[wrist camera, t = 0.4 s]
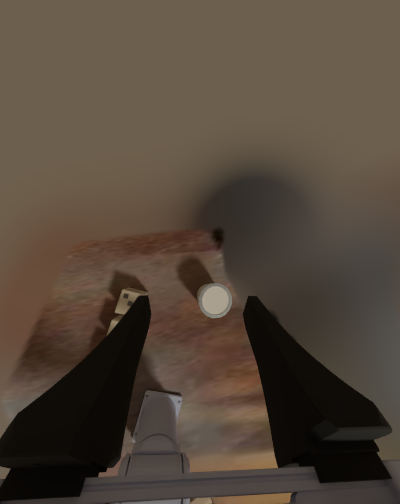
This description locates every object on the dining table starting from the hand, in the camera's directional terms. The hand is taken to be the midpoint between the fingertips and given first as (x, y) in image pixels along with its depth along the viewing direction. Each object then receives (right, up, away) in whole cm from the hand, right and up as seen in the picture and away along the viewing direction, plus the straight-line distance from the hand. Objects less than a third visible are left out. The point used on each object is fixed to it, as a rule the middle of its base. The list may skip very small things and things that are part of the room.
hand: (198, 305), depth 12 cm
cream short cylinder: (+2, -7, +28) cm, 28 cm away
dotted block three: (-14, -7, +25) cm, 29 cm away
